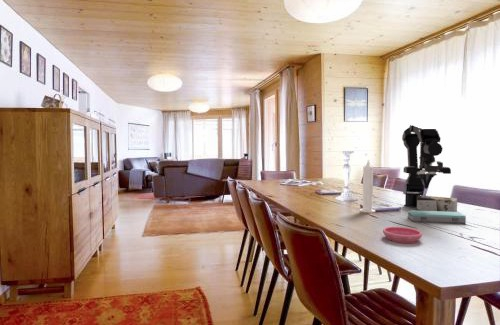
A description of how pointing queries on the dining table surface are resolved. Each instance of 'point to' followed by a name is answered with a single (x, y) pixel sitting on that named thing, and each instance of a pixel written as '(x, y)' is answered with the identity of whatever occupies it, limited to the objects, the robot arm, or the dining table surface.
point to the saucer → (402, 234)
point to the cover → (436, 214)
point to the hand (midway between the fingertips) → (426, 188)
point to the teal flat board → (437, 219)
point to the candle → (367, 189)
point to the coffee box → (436, 203)
